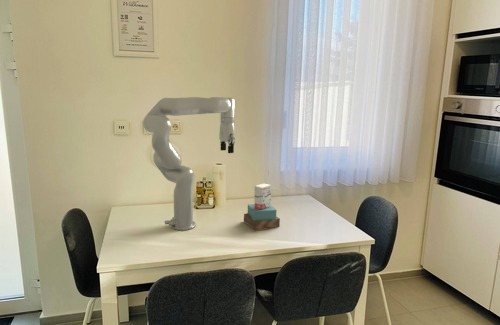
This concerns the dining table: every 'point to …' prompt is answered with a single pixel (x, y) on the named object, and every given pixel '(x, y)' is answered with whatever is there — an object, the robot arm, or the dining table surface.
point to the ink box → (262, 196)
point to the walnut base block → (261, 223)
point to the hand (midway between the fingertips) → (226, 151)
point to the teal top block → (261, 213)
